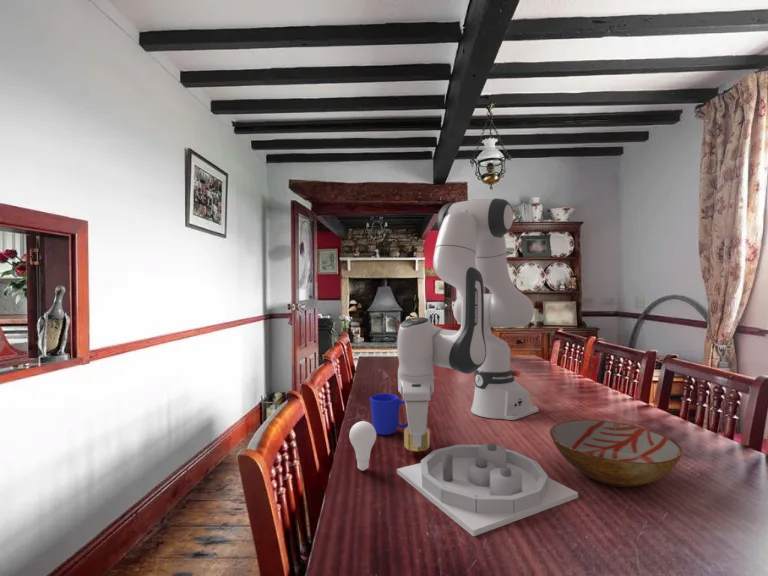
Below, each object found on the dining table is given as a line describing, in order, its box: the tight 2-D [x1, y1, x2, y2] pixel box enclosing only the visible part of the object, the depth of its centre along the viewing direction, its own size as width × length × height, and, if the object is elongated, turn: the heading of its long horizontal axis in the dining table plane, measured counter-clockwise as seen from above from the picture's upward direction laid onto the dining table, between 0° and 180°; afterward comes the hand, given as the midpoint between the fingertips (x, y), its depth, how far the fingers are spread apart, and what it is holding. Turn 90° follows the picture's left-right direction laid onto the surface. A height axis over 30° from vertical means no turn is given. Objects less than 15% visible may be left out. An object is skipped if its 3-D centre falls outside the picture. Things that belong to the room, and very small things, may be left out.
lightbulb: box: [348, 420, 377, 472], centre depth 92 cm, size 6×6×11 cm
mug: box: [369, 393, 408, 436], centre depth 116 cm, size 8×12×10 cm
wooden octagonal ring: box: [403, 426, 431, 452], centre depth 100 cm, size 6×6×4 cm
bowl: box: [549, 419, 684, 488], centre depth 89 cm, size 25×25×8 cm
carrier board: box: [396, 442, 579, 537], centre depth 85 cm, size 26×26×6 cm
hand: (416, 439), depth 100 cm, fingers closed on wooden octagonal ring, 6 cm apart
